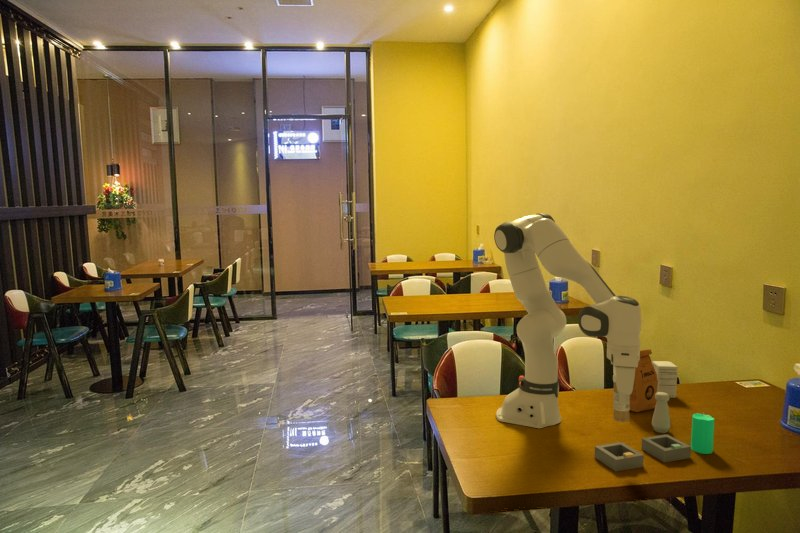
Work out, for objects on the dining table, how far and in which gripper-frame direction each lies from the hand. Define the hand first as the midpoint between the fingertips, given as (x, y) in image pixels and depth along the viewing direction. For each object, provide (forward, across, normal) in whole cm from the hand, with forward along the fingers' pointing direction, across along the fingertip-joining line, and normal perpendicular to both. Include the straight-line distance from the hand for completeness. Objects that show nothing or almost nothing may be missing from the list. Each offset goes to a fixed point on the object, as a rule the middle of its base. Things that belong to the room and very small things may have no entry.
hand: (621, 399), depth 164 cm
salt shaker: (+19, -28, +15) cm, 37 cm away
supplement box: (+19, -67, +21) cm, 73 cm away
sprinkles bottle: (+6, 0, 0) cm, 6 cm away
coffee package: (+19, -48, +10) cm, 52 cm away
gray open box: (+19, 0, 0) cm, 19 cm away
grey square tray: (+19, -10, +14) cm, 25 cm away
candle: (+19, -16, +25) cm, 35 cm away
